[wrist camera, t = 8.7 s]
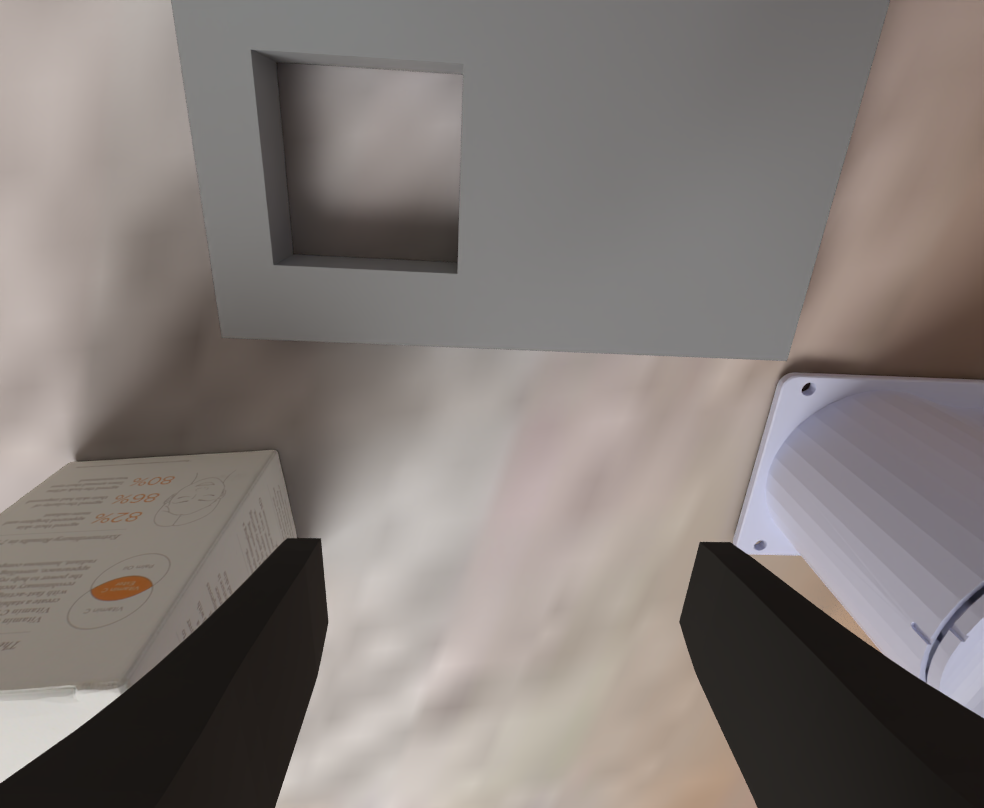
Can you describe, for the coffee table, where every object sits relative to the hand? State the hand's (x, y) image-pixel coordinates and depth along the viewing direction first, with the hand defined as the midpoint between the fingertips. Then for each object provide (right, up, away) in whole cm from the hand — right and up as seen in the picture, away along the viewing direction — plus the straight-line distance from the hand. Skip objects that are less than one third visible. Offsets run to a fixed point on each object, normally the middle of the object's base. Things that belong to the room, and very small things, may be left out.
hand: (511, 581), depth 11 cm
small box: (-12, -1, +12) cm, 17 cm away
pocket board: (0, +11, +7) cm, 13 cm away
